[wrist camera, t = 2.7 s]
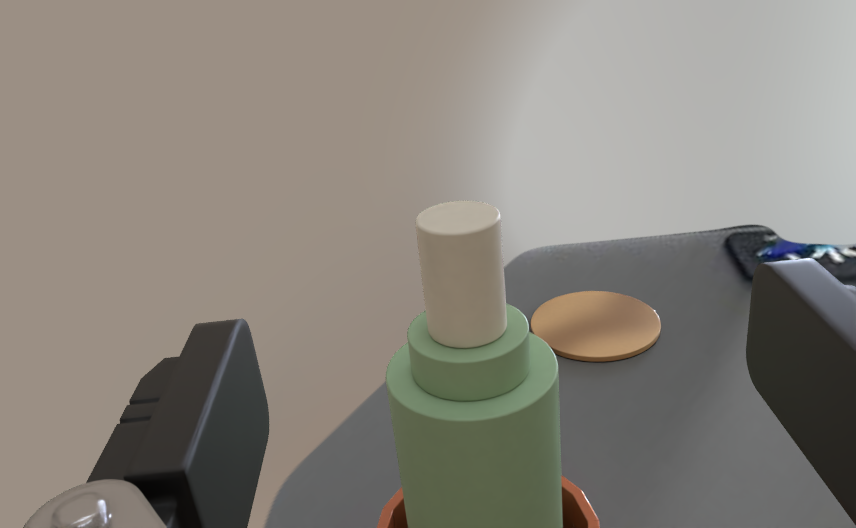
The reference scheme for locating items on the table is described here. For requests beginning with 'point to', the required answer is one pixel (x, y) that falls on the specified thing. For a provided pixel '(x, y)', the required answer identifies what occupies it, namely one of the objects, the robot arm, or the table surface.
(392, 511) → the cup
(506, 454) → the bottle
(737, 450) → the table surface
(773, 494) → the table surface
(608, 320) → the coaster
